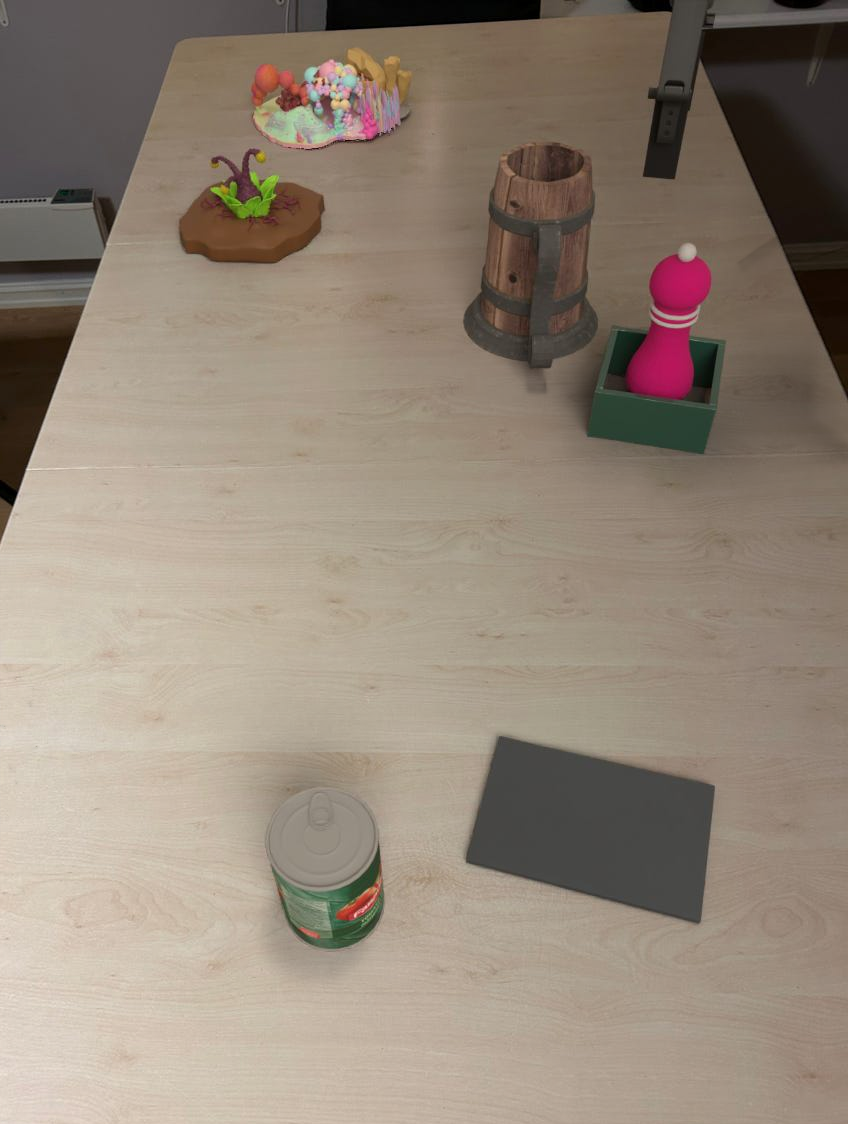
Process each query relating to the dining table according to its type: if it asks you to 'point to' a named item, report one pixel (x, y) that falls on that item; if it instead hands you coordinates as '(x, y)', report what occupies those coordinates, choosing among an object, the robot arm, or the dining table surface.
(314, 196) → the plant
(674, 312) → the pepper mill
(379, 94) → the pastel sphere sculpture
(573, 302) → the tankard
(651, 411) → the holder
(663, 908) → the mat
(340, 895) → the canned tomato
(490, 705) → the dining table surface
